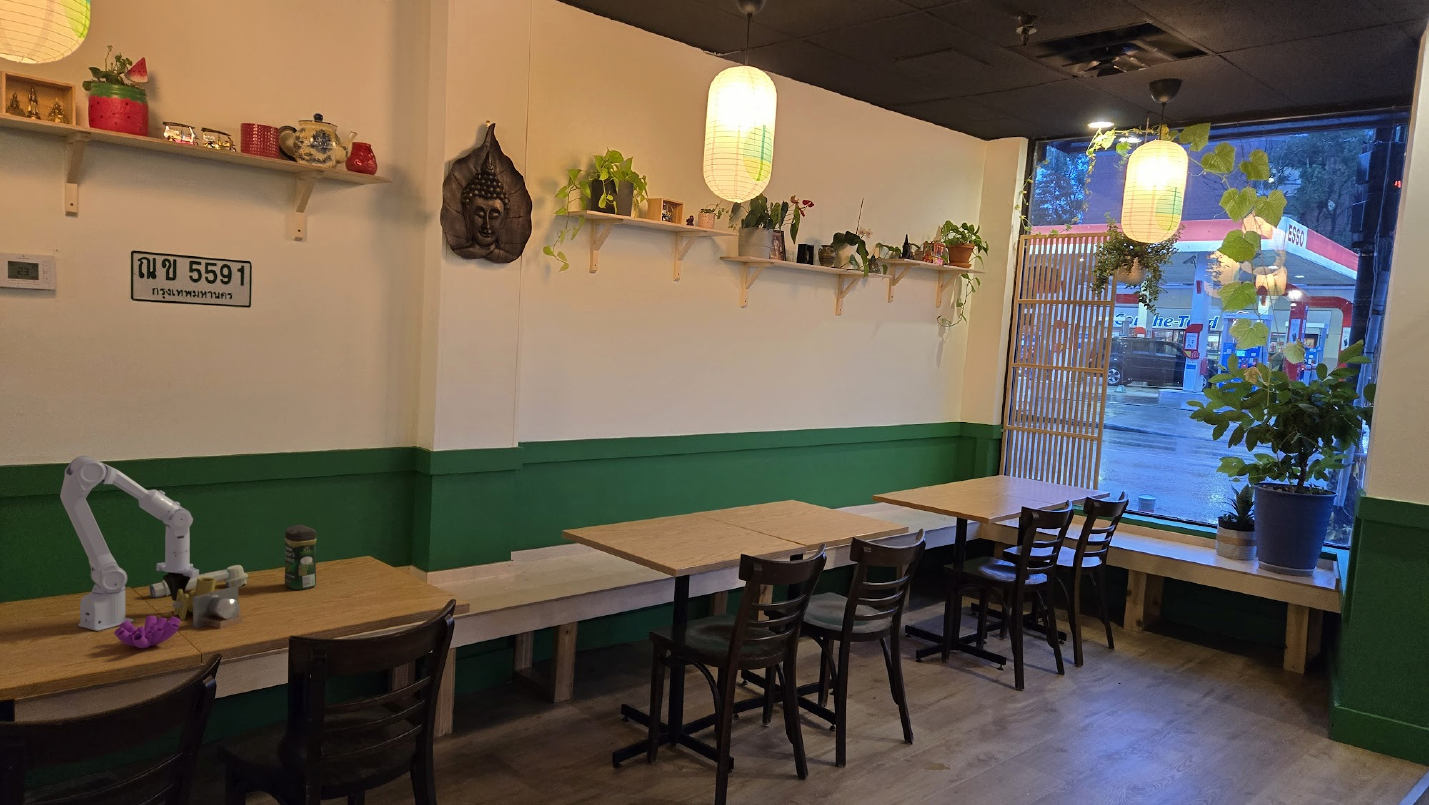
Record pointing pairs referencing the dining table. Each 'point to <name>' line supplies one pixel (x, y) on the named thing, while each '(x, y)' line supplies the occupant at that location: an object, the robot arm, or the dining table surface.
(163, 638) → the purple tube coral
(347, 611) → the dining table surface
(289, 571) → the coffee jar
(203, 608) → the fitting
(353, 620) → the dining table surface
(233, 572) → the grey piece
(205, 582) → the ball valve
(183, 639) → the dining table surface
